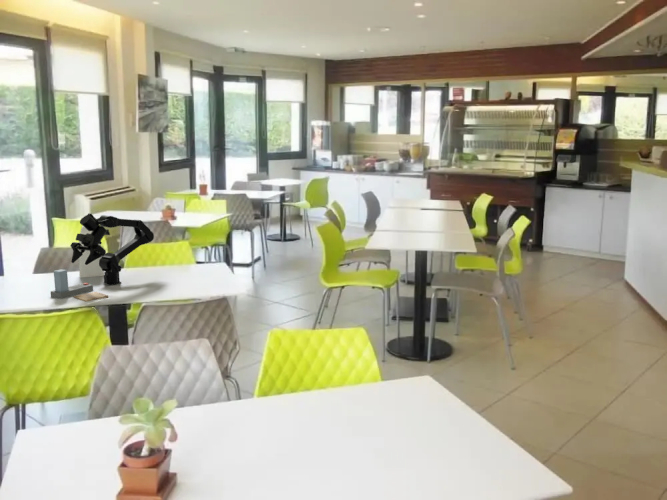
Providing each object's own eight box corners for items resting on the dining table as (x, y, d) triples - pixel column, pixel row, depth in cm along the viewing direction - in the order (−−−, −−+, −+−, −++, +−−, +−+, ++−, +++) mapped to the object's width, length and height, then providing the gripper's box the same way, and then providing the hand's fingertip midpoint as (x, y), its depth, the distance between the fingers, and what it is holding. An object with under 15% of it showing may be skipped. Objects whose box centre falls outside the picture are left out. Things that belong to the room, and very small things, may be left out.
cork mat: (95, 293, 299) (95, 291, 299) (108, 297, 292) (108, 295, 292) (73, 298, 291) (73, 296, 291) (85, 302, 284) (85, 300, 284)
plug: (63, 294, 296) (61, 269, 294) (69, 295, 294) (66, 270, 292) (55, 296, 293) (53, 270, 291) (61, 297, 291) (59, 271, 289)
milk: (103, 271, 347) (100, 223, 342) (104, 275, 336) (100, 226, 332) (80, 273, 343) (76, 225, 338) (79, 277, 332) (75, 228, 327)
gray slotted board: (83, 289, 308) (82, 282, 307) (93, 290, 305) (92, 283, 304) (51, 297, 292) (50, 290, 292) (61, 299, 289) (60, 292, 288)
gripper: (72, 225, 307) (54, 251, 299) (99, 228, 298) (81, 255, 291) (86, 239, 315) (69, 265, 308) (113, 242, 306) (96, 269, 299)
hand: (78, 263), depth 301 cm, fingers open, 9 cm apart
